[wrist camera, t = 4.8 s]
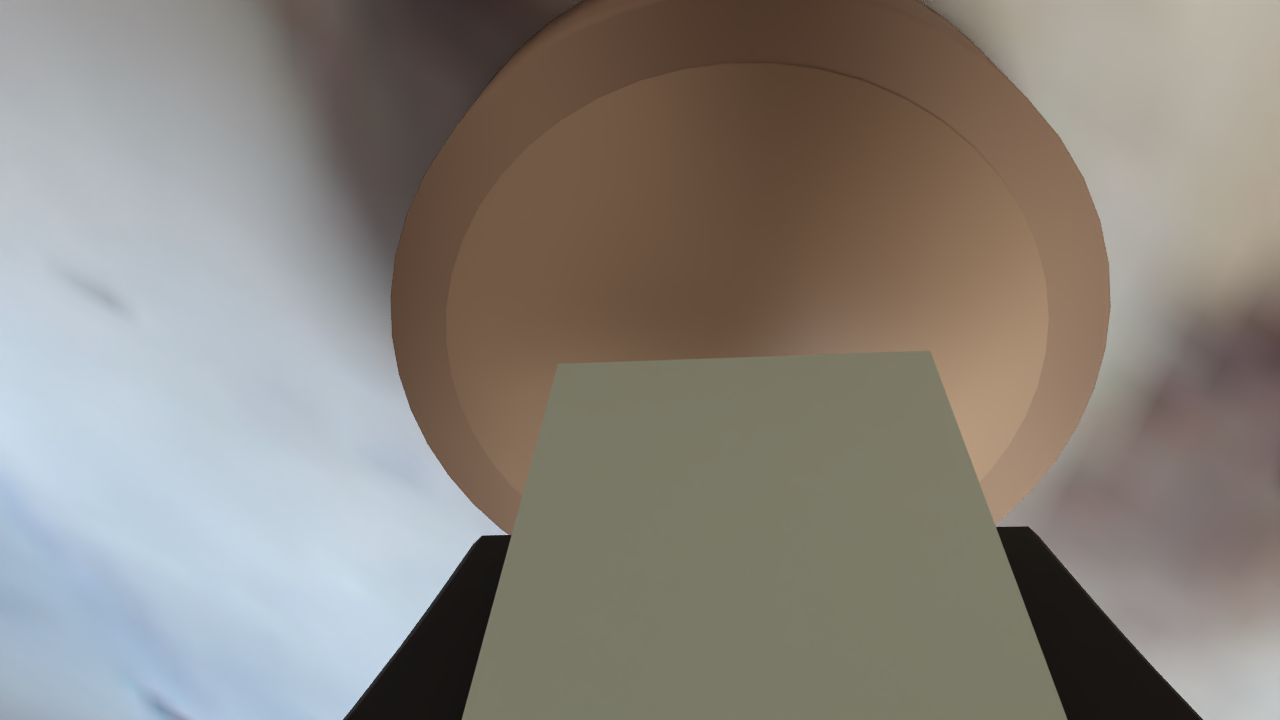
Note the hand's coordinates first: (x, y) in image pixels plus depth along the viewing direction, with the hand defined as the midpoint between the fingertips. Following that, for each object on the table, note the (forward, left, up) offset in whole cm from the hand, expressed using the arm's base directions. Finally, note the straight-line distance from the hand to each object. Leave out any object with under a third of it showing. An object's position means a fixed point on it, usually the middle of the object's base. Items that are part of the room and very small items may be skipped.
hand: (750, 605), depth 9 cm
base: (0, 0, -7) cm, 7 cm away
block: (0, 0, -2) cm, 2 cm away
